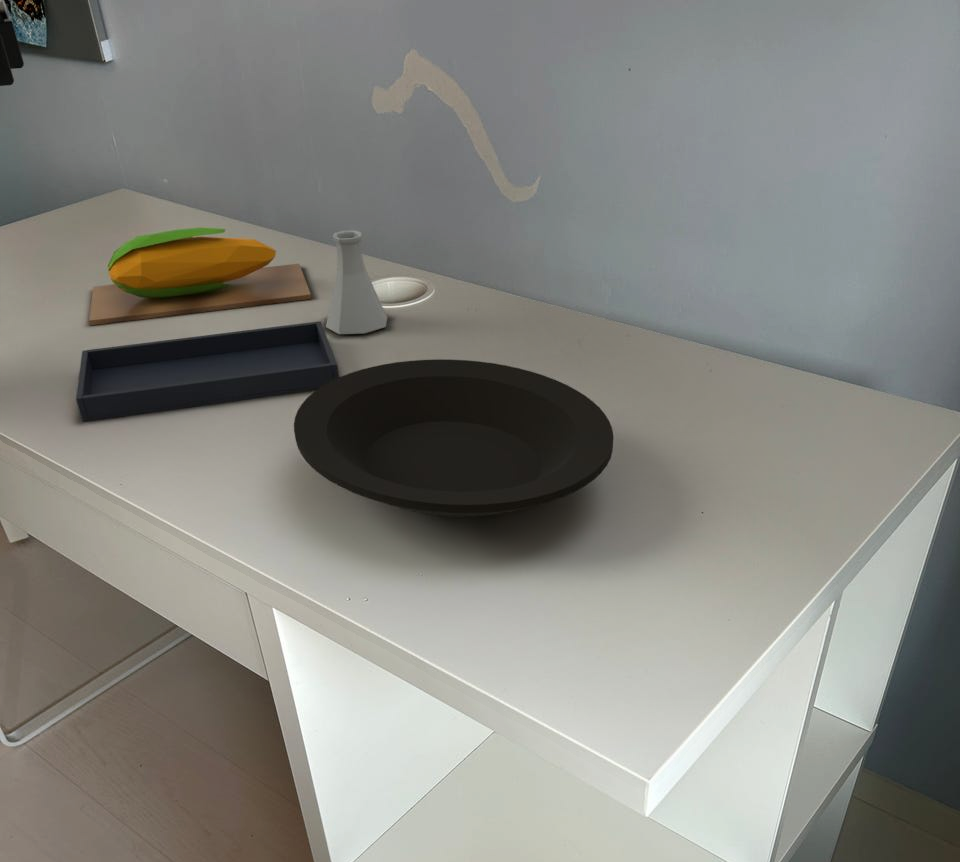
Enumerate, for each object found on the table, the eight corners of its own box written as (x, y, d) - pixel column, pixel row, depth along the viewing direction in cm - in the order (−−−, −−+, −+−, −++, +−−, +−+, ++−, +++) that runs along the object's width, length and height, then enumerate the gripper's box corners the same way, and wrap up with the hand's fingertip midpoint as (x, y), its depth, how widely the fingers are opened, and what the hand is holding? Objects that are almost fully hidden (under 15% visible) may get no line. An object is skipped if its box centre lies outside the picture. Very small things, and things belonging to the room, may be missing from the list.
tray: (82, 421, 95) (75, 398, 94) (88, 372, 105) (82, 350, 103) (339, 386, 100) (337, 364, 98) (323, 342, 109) (320, 320, 108)
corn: (97, 227, 117) (265, 206, 122) (114, 290, 122) (274, 267, 127) (101, 250, 112) (276, 227, 116) (118, 314, 117) (285, 290, 122)
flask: (319, 318, 115) (307, 229, 108) (379, 309, 116) (371, 221, 110) (333, 340, 109) (321, 248, 103) (395, 330, 111) (388, 239, 105)
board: (90, 325, 115) (88, 320, 115) (94, 291, 124) (93, 286, 124) (311, 299, 120) (310, 294, 119) (299, 267, 129) (299, 263, 128)
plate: (241, 484, 85) (229, 424, 82) (435, 391, 98) (432, 337, 95) (479, 611, 70) (476, 546, 66) (669, 481, 83) (676, 421, 80)
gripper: (-92, -148, 90) (-27, 65, 101) (-133, -148, 77) (-53, 96, 88) (-6, -151, 92) (49, 60, 103) (-32, -152, 79) (35, 89, 89)
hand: (2, 76), depth 95 cm, fingers open, 9 cm apart
